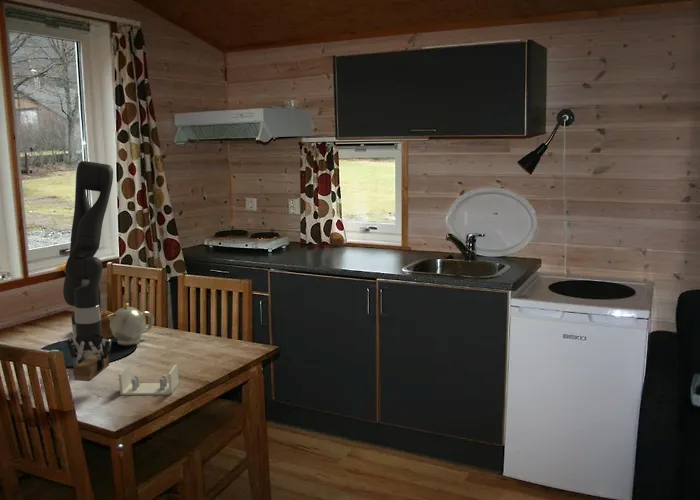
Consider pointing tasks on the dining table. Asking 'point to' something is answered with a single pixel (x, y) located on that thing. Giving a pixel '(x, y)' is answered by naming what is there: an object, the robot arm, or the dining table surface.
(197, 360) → the dining table surface
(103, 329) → the bread
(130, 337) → the teapot
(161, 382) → the shelf frame
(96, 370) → the brown rectangular block
